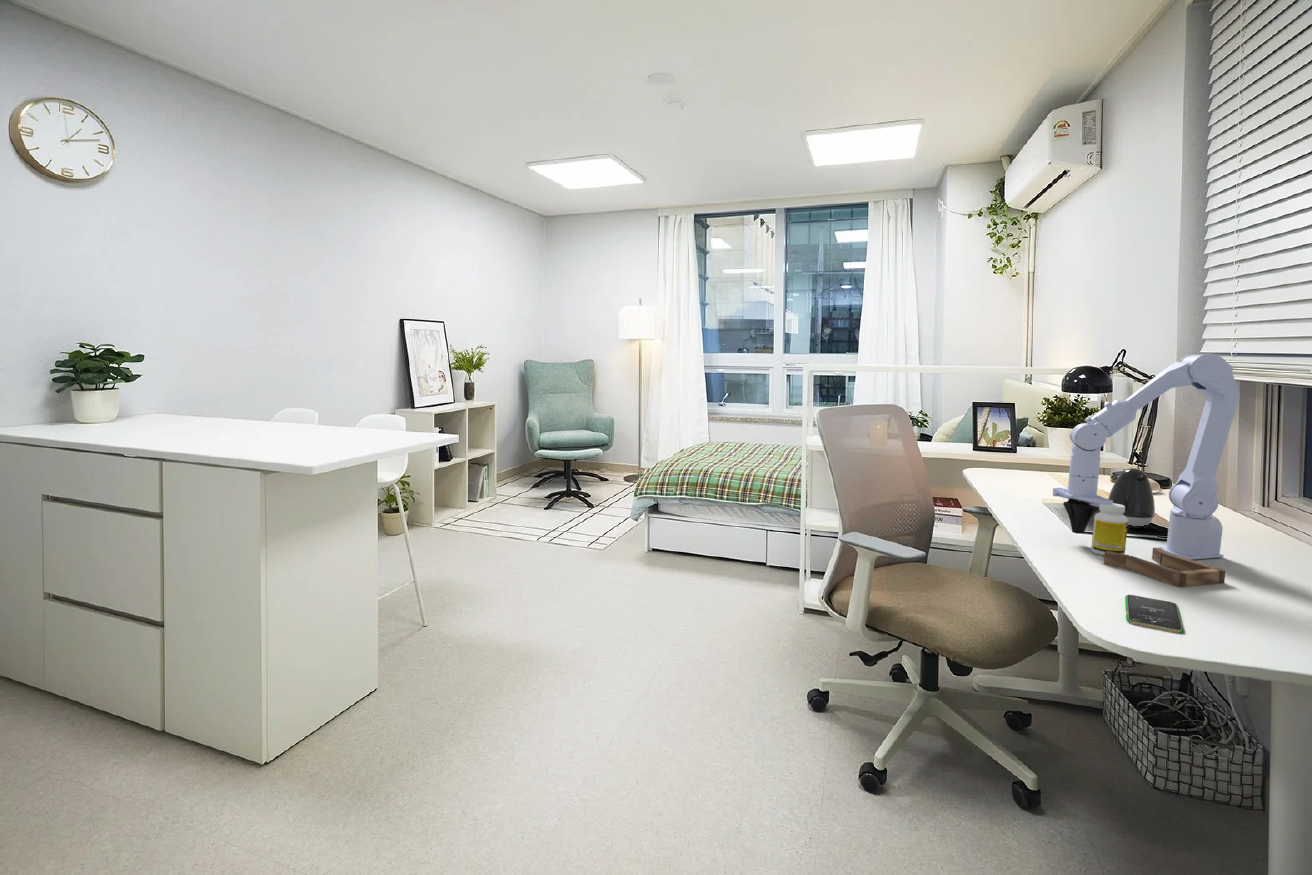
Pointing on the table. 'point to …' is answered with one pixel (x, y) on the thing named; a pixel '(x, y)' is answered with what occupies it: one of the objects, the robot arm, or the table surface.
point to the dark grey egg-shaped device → (1134, 496)
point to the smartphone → (1153, 613)
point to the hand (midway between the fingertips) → (1078, 532)
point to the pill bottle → (1109, 529)
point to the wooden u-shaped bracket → (1185, 576)
